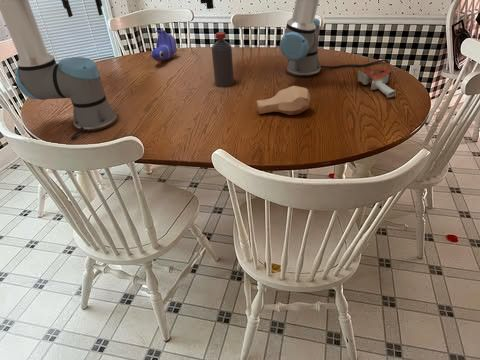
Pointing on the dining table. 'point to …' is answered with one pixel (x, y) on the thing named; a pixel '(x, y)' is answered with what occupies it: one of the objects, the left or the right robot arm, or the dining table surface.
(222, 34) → the cap
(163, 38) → the toy
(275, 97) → the squash
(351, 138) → the dining table surface
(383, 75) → the tape dispenser
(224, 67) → the bottle
